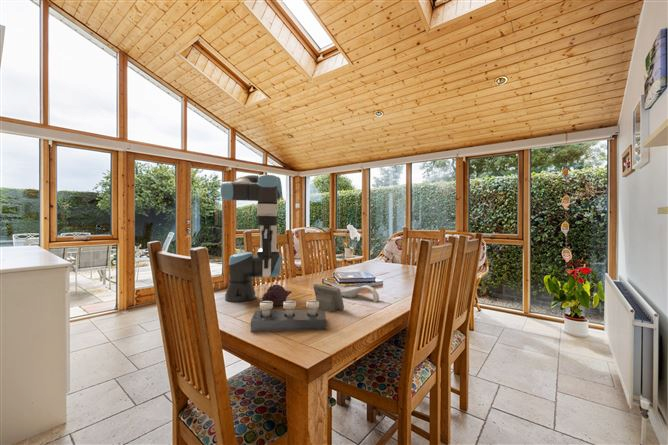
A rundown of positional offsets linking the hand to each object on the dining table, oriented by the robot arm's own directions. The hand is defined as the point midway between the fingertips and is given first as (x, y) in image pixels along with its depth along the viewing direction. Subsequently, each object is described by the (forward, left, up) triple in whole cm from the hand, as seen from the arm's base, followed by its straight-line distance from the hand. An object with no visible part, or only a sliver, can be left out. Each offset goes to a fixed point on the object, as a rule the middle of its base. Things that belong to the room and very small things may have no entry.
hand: (266, 275), depth 119 cm
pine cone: (-16, +22, -20) cm, 33 cm away
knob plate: (+7, +6, -20) cm, 22 cm away
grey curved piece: (+8, +58, -20) cm, 62 cm away
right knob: (+14, +12, -16) cm, 24 cm away
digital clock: (+6, +34, -20) cm, 40 cm away
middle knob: (+7, +6, -16) cm, 18 cm away
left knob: (0, 0, -16) cm, 16 cm away
